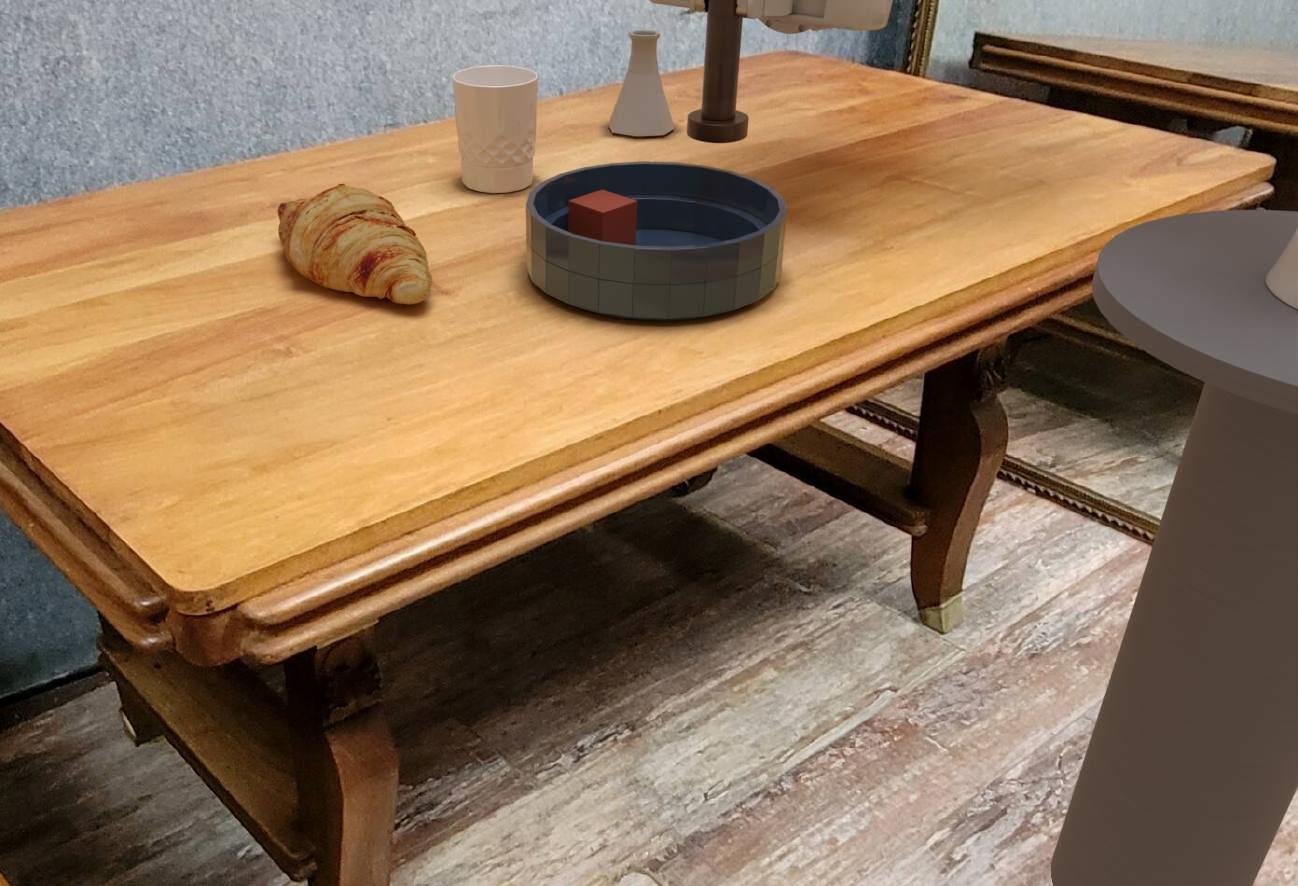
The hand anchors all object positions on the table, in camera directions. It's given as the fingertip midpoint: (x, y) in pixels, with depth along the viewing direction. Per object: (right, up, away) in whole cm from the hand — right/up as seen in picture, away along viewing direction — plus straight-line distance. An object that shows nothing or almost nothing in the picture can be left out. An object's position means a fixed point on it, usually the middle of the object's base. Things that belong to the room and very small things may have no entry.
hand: (720, 3), depth 96 cm
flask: (-3, +2, +38) cm, 38 cm away
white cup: (-18, -8, +23) cm, 30 cm away
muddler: (+1, -8, +6) cm, 10 cm away
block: (-9, -17, +7) cm, 21 cm away
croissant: (-29, -20, +4) cm, 36 cm away
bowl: (-5, -20, +4) cm, 21 cm away
